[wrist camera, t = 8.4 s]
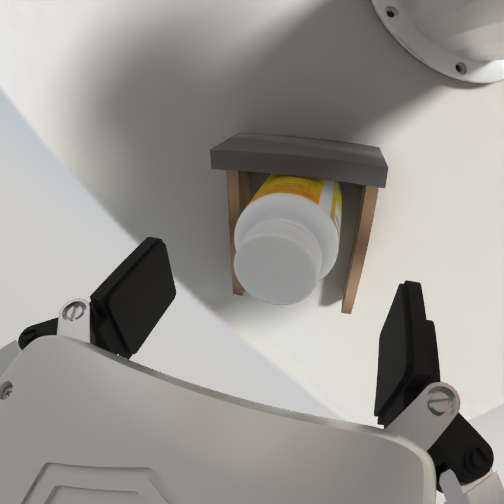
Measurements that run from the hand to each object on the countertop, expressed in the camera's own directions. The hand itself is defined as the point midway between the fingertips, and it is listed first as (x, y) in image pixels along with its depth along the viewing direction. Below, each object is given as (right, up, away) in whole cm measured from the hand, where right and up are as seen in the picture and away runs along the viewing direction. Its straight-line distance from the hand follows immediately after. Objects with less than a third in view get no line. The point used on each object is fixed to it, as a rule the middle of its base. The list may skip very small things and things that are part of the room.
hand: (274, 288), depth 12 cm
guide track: (+3, +4, +12) cm, 13 cm away
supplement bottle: (+3, +6, +11) cm, 13 cm away
